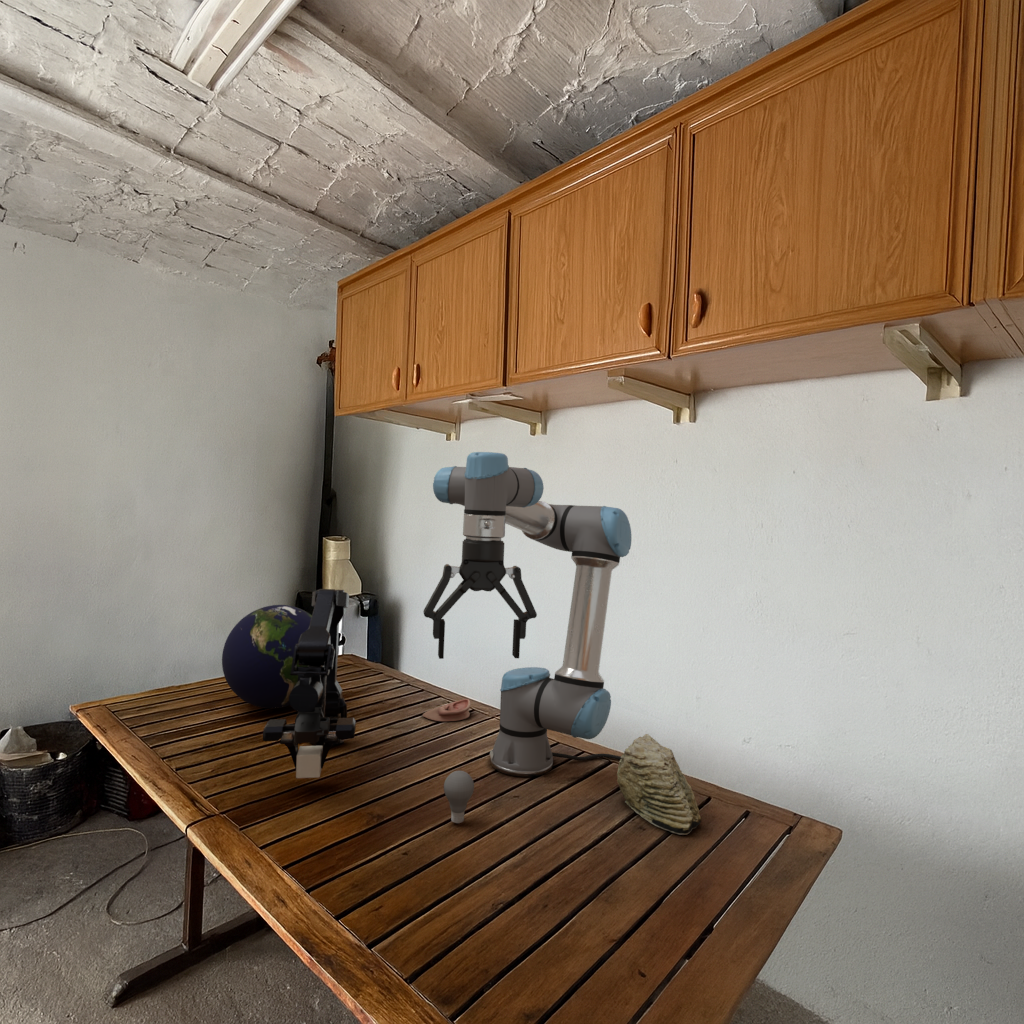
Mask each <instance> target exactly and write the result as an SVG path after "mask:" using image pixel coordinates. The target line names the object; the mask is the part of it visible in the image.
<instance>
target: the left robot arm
mask: <svg viewBox="0 0 1024 1024" xmlns="http://www.w3.org/2000/svg"><path fill="white" fill-rule="evenodd" d="M349 594H350V593H348V592H345V590H344V589H335V588H319V589H316V590H315V591H312V596H311V597H312V598H311V607H312V608H313V610H312V614H311V615H312V618H311V622H310V626H309V629H308V630H306V631H305V632H304V633H302V634H301V636H300V639H299V642H298V644H296V645H295V649H294V655H293V661H292V667H291V674H290V675H298V681H297V683H296V685H295V686H294V688H293V689H292V691H291V693H290V695H289V703H290V707H291V708H292V710H294V711H296V712H297V713H296V717H295V718H294V719H295V720H294V723H293V724H292V723H290V724H288V721H287V719H286V718H277V719H276V718H274V719H273V718H272V719H269V720H268V721H267V722H266V724H265V726H264V727H263V730H262V741H263V742H279V744H280V745H284V746H285V747H286V748H287V749H288V751H289V754H290V756H291V760H292V763H293V765H294V768H295V770H296V763H297V754H298V751H299V745H302V744H310V745H311V746H323V752H322V758H321V768H322V769H323V768H324V765H325V763H326V759H327V757H328V755H329V752H330V749H331V748H333V747H336V746H340V745H343V744H344V743H345V741H344V740H352V739H355V735H356V726H357V720H356V718H354V717H348V707H347V706H348V705H347V702H346V700H345V699H346V698H345V697H343V688H342V687H341V685H340V683H339V682H338V680H337V678H338V675H337V674H338V657H339V655H338V653H339V633H340V630H339V629H340V622H341V621H342V619H343V618H344V617H345V615H346V612H347V609H348V608H349V605H350V595H349ZM298 661H299V662H298ZM297 662H298V664H299V665H300V666H308V667H297ZM296 667H297V669H296Z"/></svg>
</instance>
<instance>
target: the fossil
mask: <svg viewBox="0 0 1024 1024" xmlns="http://www.w3.org/2000/svg"><path fill="white" fill-rule="evenodd" d="M620 756H621V758H622V759H620V760H618V767H617V768H618V769H617V773H616V777H617V780H616V783H617V784H618V786H619V790H620V791H621V793H622V796H623V797H624V799H625V801H624V803H626V805H627V806H628V807H629V808H630V809H631V810H633V812H634V813H636V814H637V815H639V816H640V817H641V818H643V819H644V820H645V821H646V822H648V823H649V824H651V825H653V826H655V827H656V828H659V829H662V830H664V831H668V832H670V833H672V834H676V835H682V836H684V835H686V836H687V835H688V834H690V833H691V832H692V831H693V830H694V829H696V828H697V827H698V826H699V825H700V824H701V823H702V817H701V815H700V809H699V807H698V802H697V800H696V797H695V793H694V791H693V789H692V786H691V785H690V784H689V782H688V780H687V778H686V775H685V774H684V773H683V771H682V770H681V767H680V765H679V763H678V761H677V760H676V757H675V755H674V752H673V750H672V749H671V748H670V747H669V748H668V747H666V746H663V745H662V744H660V743H659V742H658V741H657V740H656V739H655V738H653V736H651V735H650V734H649V733H645V734H644V735H642V736H638V737H637V738H635V739H634V740H633V741H632V743H631V744H630V745H628V747H627V748H625V750H624V751H623V754H622V755H620Z"/></svg>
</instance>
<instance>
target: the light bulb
mask: <svg viewBox="0 0 1024 1024" xmlns="http://www.w3.org/2000/svg"><path fill="white" fill-rule="evenodd" d="M474 790H475V782H474V779H473V777H472V776H471V775H470V774H469V773H468V772H467V771H465V770H455V771H452V772H450V774H448V775H447V777H446V778H445V780H444V782H443V792H444V796H445V798H446V799H447V801H448V803H449V809H450V811H451V813H450V814H451V818H450V821H451V822H452V823H455V824H460V823H463V822H464V821H465V811H466V809H467V805H468V803H469V801H470V800H471V797H472V796H473V794H474Z"/></svg>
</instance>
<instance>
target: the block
mask: <svg viewBox="0 0 1024 1024" xmlns="http://www.w3.org/2000/svg"><path fill="white" fill-rule="evenodd" d="M322 752H323V746H314V745H300V746H299V747H298V754H297V763H296V769H295V779H311V778H312V779H313V778H314V779H315V778H320V777H321V773H322V770H323V768H321V758H322Z"/></svg>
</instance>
